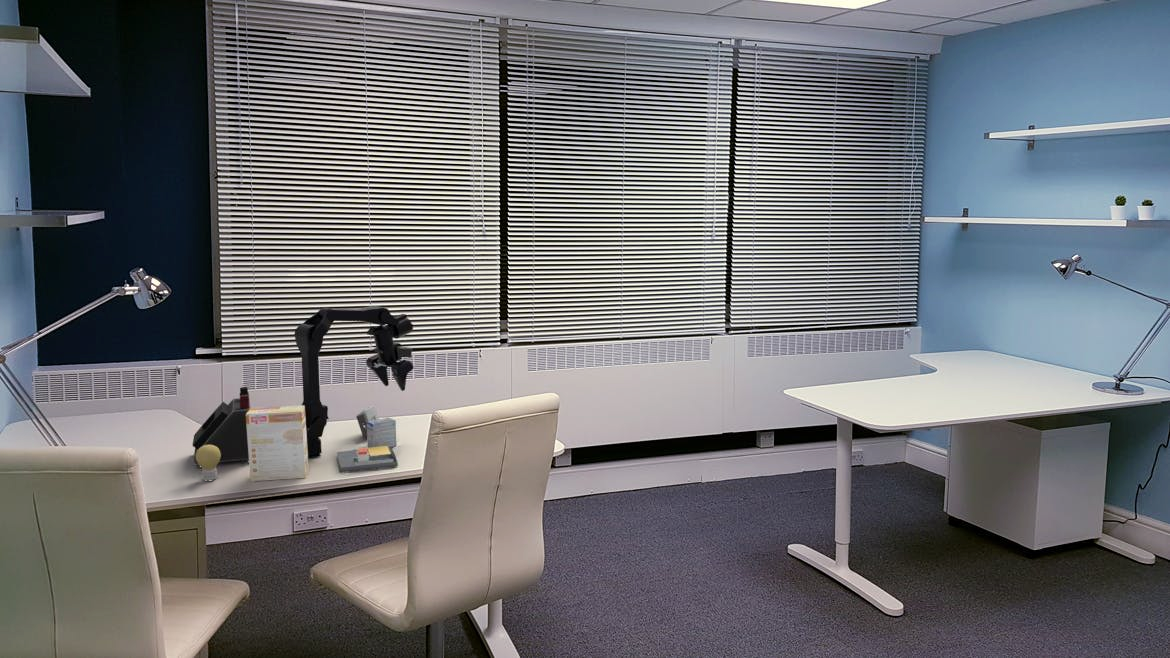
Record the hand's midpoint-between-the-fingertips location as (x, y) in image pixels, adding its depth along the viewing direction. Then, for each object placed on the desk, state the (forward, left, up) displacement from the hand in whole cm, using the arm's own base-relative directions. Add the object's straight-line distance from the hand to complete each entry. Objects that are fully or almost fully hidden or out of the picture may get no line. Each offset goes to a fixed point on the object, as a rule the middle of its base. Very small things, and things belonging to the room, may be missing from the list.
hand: (395, 388), depth 297 cm
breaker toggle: (-14, -33, -13) cm, 39 cm away
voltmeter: (-53, -10, -15) cm, 56 cm away
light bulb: (-56, -30, -15) cm, 65 cm away
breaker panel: (-13, -28, -15) cm, 34 cm away
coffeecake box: (-37, -34, -15) cm, 52 cm away
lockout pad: (-9, -25, -14) cm, 30 cm away
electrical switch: (-9, 0, -15) cm, 18 cm away
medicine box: (-7, -15, -15) cm, 23 cm away
